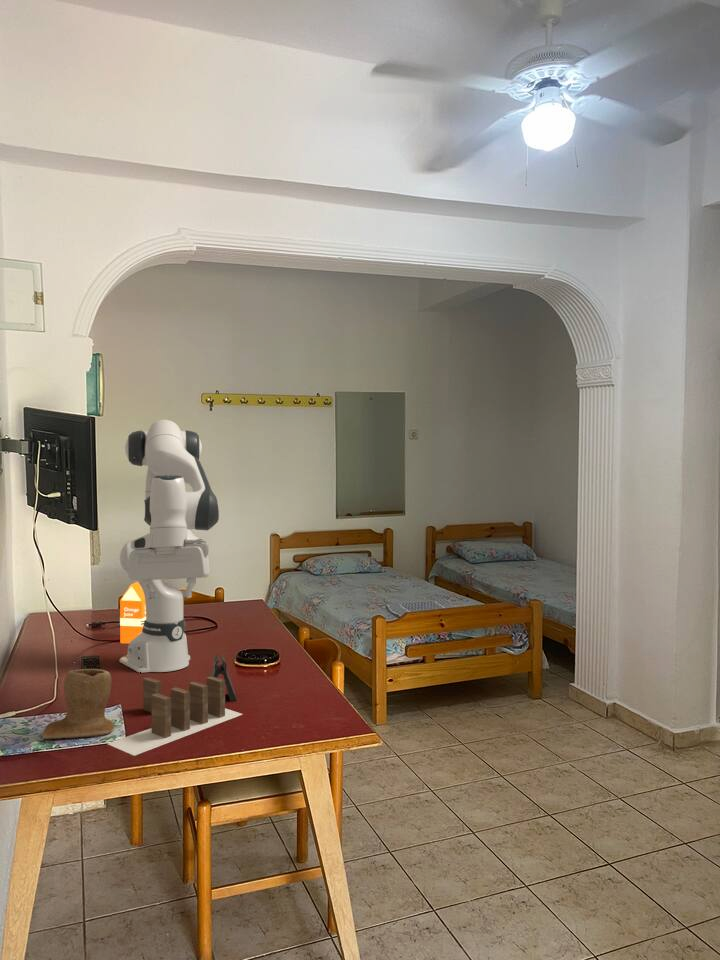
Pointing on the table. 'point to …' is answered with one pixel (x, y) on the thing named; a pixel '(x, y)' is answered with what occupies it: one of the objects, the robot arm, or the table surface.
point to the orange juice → (132, 613)
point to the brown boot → (83, 706)
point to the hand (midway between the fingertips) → (169, 598)
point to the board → (149, 740)
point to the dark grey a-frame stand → (222, 670)
